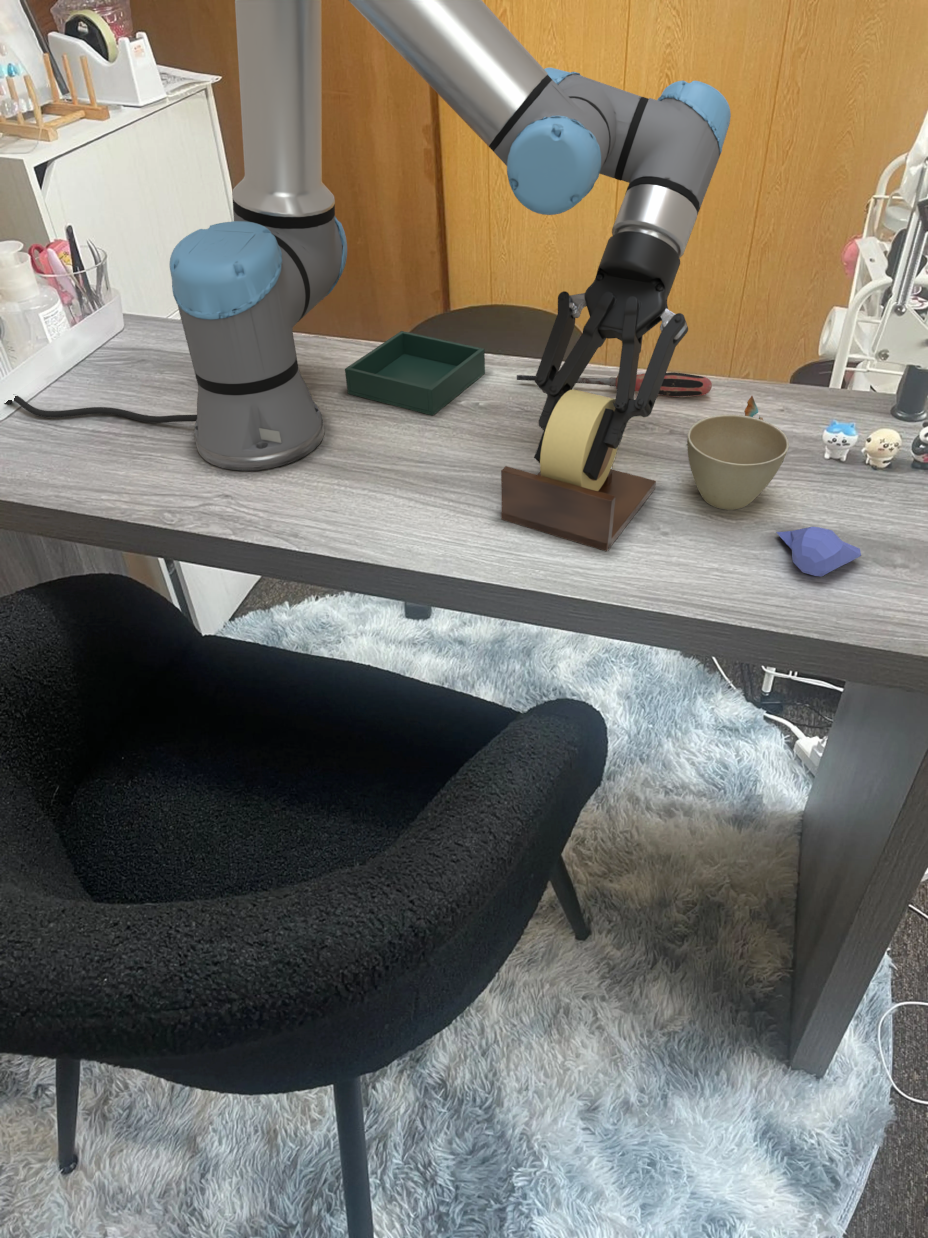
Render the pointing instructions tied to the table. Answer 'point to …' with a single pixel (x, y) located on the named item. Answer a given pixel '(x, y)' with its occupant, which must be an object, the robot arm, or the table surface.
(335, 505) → the table surface
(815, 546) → the bird figurine
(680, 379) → the screwdriver
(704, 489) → the flower pot
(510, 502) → the phone holder
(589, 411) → the tape roll
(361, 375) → the tray
